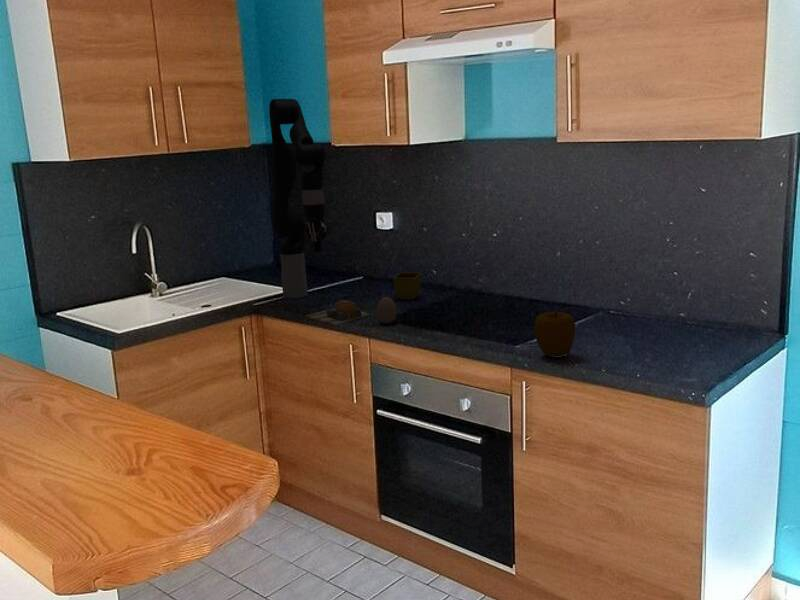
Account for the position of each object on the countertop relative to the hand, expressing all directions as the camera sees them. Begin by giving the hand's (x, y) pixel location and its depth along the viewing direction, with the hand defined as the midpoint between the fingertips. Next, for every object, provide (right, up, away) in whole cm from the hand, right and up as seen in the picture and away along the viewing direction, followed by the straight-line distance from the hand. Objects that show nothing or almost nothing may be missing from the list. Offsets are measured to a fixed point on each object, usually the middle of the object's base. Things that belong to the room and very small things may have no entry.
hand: (317, 251), depth 284 cm
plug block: (+11, -23, -6) cm, 26 cm away
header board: (+8, -23, -2) cm, 24 cm away
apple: (+72, -33, -59) cm, 99 cm away
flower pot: (+32, -17, +19) cm, 41 cm away
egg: (+25, -25, -15) cm, 38 cm away
